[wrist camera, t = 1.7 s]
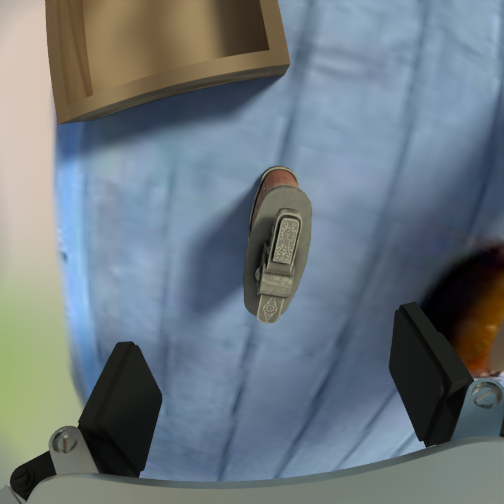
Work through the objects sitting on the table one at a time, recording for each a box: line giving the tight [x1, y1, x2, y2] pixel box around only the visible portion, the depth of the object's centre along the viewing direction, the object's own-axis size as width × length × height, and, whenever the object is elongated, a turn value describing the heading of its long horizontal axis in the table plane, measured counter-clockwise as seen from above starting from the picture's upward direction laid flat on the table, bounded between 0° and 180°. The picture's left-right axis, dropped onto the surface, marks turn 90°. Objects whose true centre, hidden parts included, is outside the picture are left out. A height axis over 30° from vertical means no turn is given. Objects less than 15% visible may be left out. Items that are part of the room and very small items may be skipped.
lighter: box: [243, 166, 312, 323], centre depth 20 cm, size 8×3×10 cm, turn 170°
